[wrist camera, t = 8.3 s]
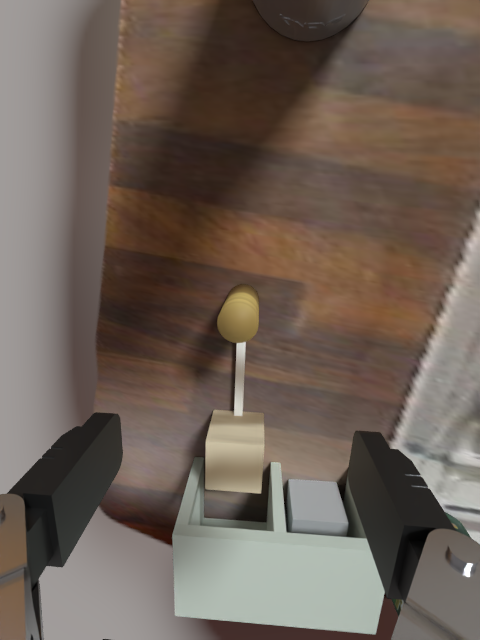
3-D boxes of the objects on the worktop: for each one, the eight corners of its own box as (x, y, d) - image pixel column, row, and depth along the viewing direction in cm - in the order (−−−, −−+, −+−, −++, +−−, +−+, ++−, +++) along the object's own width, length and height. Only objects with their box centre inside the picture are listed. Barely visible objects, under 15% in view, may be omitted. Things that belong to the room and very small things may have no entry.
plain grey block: (288, 478, 34) (292, 519, 29) (336, 481, 34) (348, 523, 29) (285, 515, 36) (289, 560, 31) (331, 519, 35) (342, 564, 31)
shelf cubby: (194, 456, 34) (172, 535, 25) (358, 468, 33) (393, 552, 25) (195, 524, 37) (175, 615, 28) (347, 535, 36) (375, 634, 27)
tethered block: (215, 282, 29) (201, 301, 22) (272, 285, 29) (276, 305, 21) (213, 451, 34) (200, 512, 27) (260, 455, 34) (261, 517, 26)
